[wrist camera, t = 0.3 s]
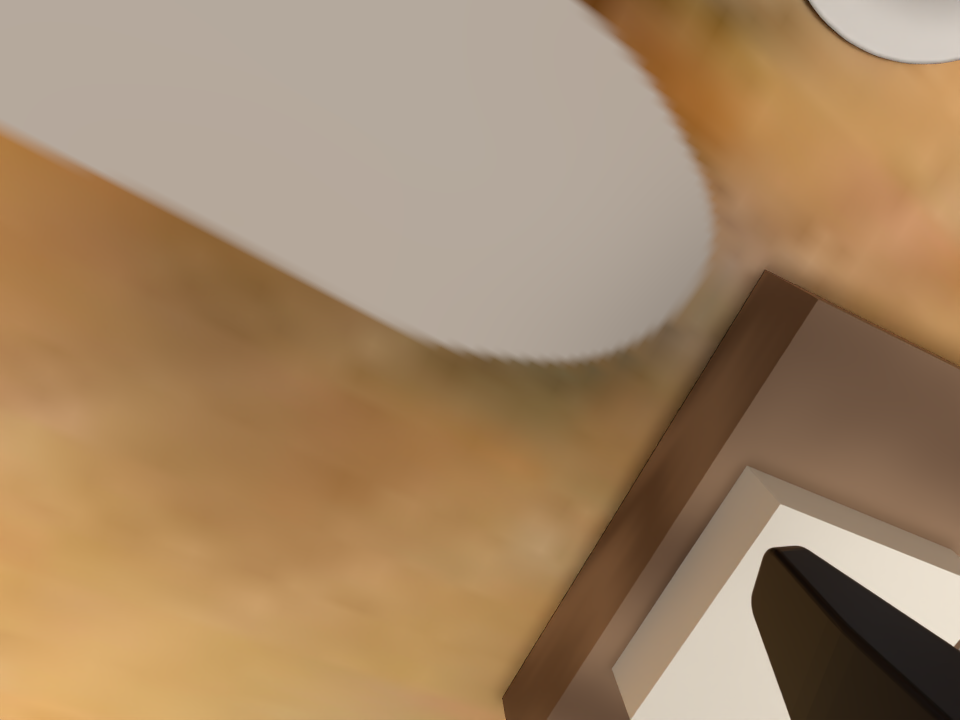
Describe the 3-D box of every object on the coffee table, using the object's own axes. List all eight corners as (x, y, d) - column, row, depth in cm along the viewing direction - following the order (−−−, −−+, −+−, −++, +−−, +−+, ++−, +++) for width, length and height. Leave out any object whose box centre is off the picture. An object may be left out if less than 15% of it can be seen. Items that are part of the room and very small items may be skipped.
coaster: (807, 728, 25) (840, 780, 24) (611, 668, 23) (630, 720, 22) (951, 549, 23) (999, 591, 21) (746, 465, 21) (780, 504, 19)
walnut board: (759, 770, 30) (796, 841, 28) (502, 698, 27) (514, 769, 25) (1044, 409, 25) (1125, 451, 22) (765, 270, 22) (818, 299, 19)
